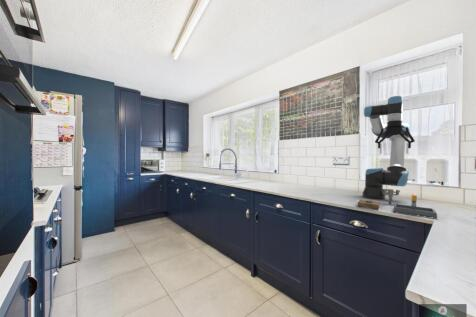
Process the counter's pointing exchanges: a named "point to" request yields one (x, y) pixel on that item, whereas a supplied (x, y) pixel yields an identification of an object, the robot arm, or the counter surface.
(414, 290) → the counter surface
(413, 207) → the tall wooden block
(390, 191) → the mechanical component
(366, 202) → the block
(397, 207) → the parts tray
